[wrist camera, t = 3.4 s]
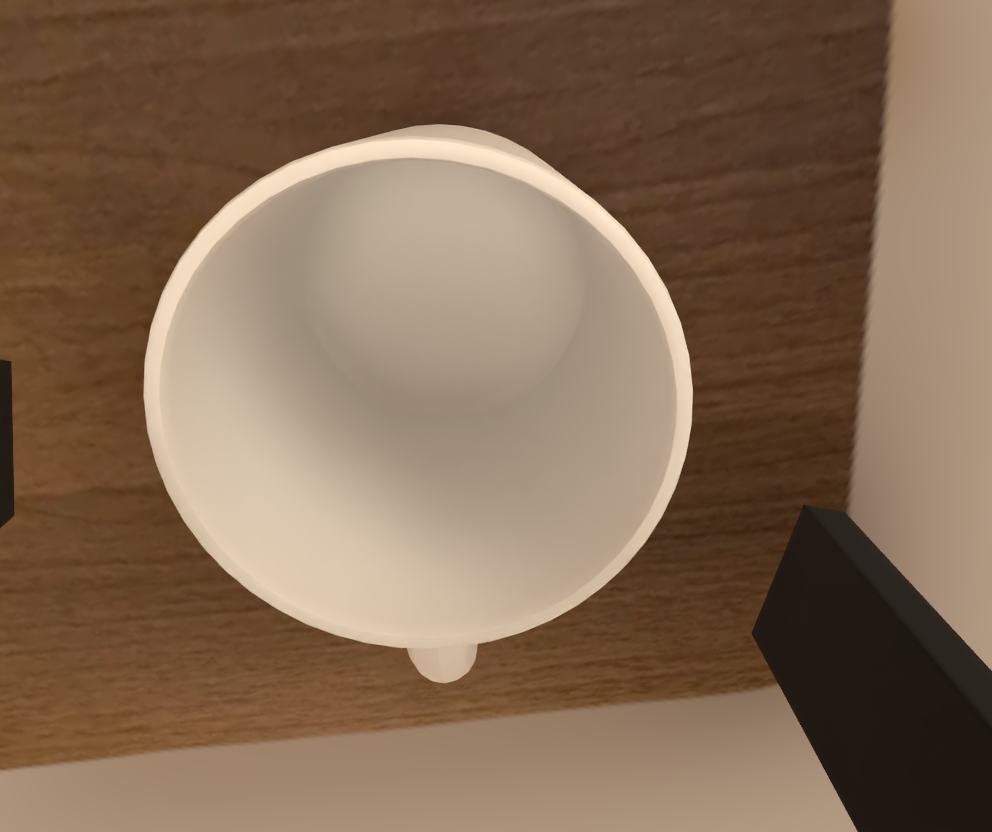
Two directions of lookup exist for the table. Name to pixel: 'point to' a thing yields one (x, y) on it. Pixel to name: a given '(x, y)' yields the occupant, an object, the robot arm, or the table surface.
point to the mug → (418, 392)
